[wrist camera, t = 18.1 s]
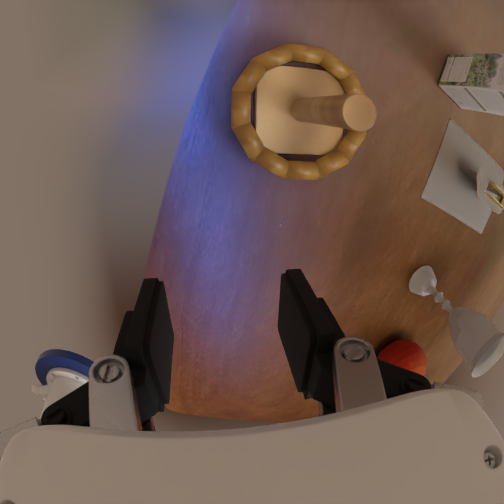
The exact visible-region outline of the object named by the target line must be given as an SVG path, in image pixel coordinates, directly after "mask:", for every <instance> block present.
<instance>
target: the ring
mask: <svg viewBox="0 0 504 504" xmlns="http://www.w3.org/2000/svg"><path fill="white" fill-rule="evenodd" d="M289 61H298V62H306V63H314V64H318V65H320V66H321V67H323V68H324V69H325V70H327V71H328V72H330V73H331V74H332V75H334V76H335V77H336V78H338V79H339V80H340V82H341V84H342V86H343V88H344V90H345V92H346V94H363V95H365V93H364V91H363V89H362V87H361V84H360V82H359V80H358V78H357V76H356V74H355V72H354V70H353V69H351V68H350V67H349V66H348V65H346V64H345V63H344V62H342V61H341V60H340V59H339V58H337V57H336V56H334V55H333V54H332V53H330V52H329V51H328V50H326V49H324V48H320V47H314V46H307V45H299V44H291V43H286V44H283V45H281V46H278V47H276V48H274V49H271V50H269V51H267V52H264V53H262V54H260V55H258V56H255V57H253V58H252V59H251V60H250V62H249V63H248V65H247V66H246V68H245V69H244V71H243V72H242V74H241V75H240V77H239V78H238V80H237V81H236V83H235V84H234V86H233V87H232V90H231V128H232V130H233V132H234V133H235V135H236V137H237V139H238V140H239V142H240V144H241V145H242V147H243V149H244V150H245V152H246V154H247V156H248V157H249V159H250V160H251V161H253V162H254V163H256V164H258V165H260V166H261V167H263V168H265V169H267V170H268V171H270V172H272V173H273V174H275V175H277V176H278V177H280V178H283V179H315V180H316V179H320V178H322V177H324V176H326V175H328V174H330V173H331V172H333V171H335V170H337V169H339V168H341V167H343V166H345V165H347V164H348V163H349V162H350V160H351V159H352V157H353V155H354V154H355V152H356V151H357V149H358V148H359V146H360V145H361V143H362V141H363V140H364V138H365V137H366V132H367V130H366V131H362V132H359V131H354V130H348V132H347V133H346V135H345V137H344V138H343V140H342V141H341V143H340V144H339V146H338V147H337V149H336V150H335V151H333V152H331V153H329V154H327V155H325V156H323V157H321V158H319V159H317V160H316V161H314V162H312V161H287V160H286V159H284V158H283V157H281V156H279V155H278V154H276V153H274V152H273V151H271V150H269V149H268V148H266V147H264V145H263V143H262V141H261V140H260V138H259V136H258V134H257V133H256V131H255V129H254V127H253V126H252V124H251V94H252V92H253V91H254V89H255V88H256V86H257V85H258V83H259V82H260V80H261V79H262V77H263V76H264V74H265V73H266V72H267V71H269V70H271V69H273V68H275V67H278V66H280V65H282V64H285V63H287V62H289ZM365 96H366V95H365Z"/></svg>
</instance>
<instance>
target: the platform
mask: <svg viewBox="0 0 504 504" xmlns="http://www.w3.org/2000/svg"><path fill="white" fill-rule="evenodd" d="M503 180H504V171H503V170H502V169H501V167H500V166H499V165H498V164H497V163H496V162H495V161H494V160H493V159H492V158H491V157H490V156H489V155H488V154H487V153H486V152H485V151H484V150H483V149H482V148H481V147H480V146H479V145H478V144H477V143H476V142H475V141H474V140H473V139H472V138H471V137H470V136H469V135H468V134H467V133H466V132H465V131H464V130H463V129H461V128H460V127H459V126H458V125H457V124H456V123H455V122H453V121H452V120H451V119H450V120H449V123H448V126H447V129H446V132H445V135H444V138H443V141H442V144H441V147H440V150H439V153H438V155H437V158H436V161H435V163H434V166H433V169H432V171H431V174H430V176H429V179H428V181H427V184H426V186H425V188H424V191H423V193H422V195H421V198H423V199H425V200H427V201H428V202H430V203H432V204H434V205H435V206H437V207H439V208H441V209H442V210H444V211H446V212H447V213H449V214H450V215H452V216H454V217H455V218H457V219H459V220H460V221H462V222H463V223H465V224H466V225H468V226H469V227H471V228H473V229H474V230H476V231H477V232H479V233H480V234H482V232H483V230H484V228H485V225H486V223H487V221H488V218H489V216H490V214H491V211H492V210H493V211H494V212H495V213H497V214H500V213H501V212H502V210H503V209H504V187H503V186H502V182H503ZM497 196H500V197H501V198H500V200H499V202H498V201H497V200H496V199H497Z"/></svg>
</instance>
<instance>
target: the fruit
mask: <svg viewBox="0 0 504 504" xmlns="http://www.w3.org/2000/svg"><path fill="white" fill-rule="evenodd" d="M377 359H380V360H382V361H385V362H388V363H390V364H393V365H396V366H399V367H401V368H404V369H407V370H410V371H413V372H415V373H418V374H420V375H422V376H423V375H424V373H425V371H426V356H425V354H424V352H423V350H422V349H421V348H420V347H419V346H418V345H417V344H416V343H415V342H412V341H410V340H397V341H394V342H392V343H390V344H389V345H387V346H386V347H385V348H384V349H383V350H382V351H381V352H380V353H379V355H378V357H377Z"/></svg>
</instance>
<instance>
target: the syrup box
mask: <svg viewBox="0 0 504 504" xmlns="http://www.w3.org/2000/svg"><path fill="white" fill-rule="evenodd" d="M438 86H439V87H440V88H441V89H442V90H443V91H444V92H445V93H446V94H447V95H448V96H449V97H450V98H451V99H452V100H453V101H454V102H455V103H456V104H457V105H458V106H459V107H460V108H461V109H467V110H475V111H481V112H487V113H492V114H497V115H502V116H504V54H461V55H448V57H447V60H446V63H445V66H444V69H443V72H442V75H441V78H440V80H439V83H438Z"/></svg>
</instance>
